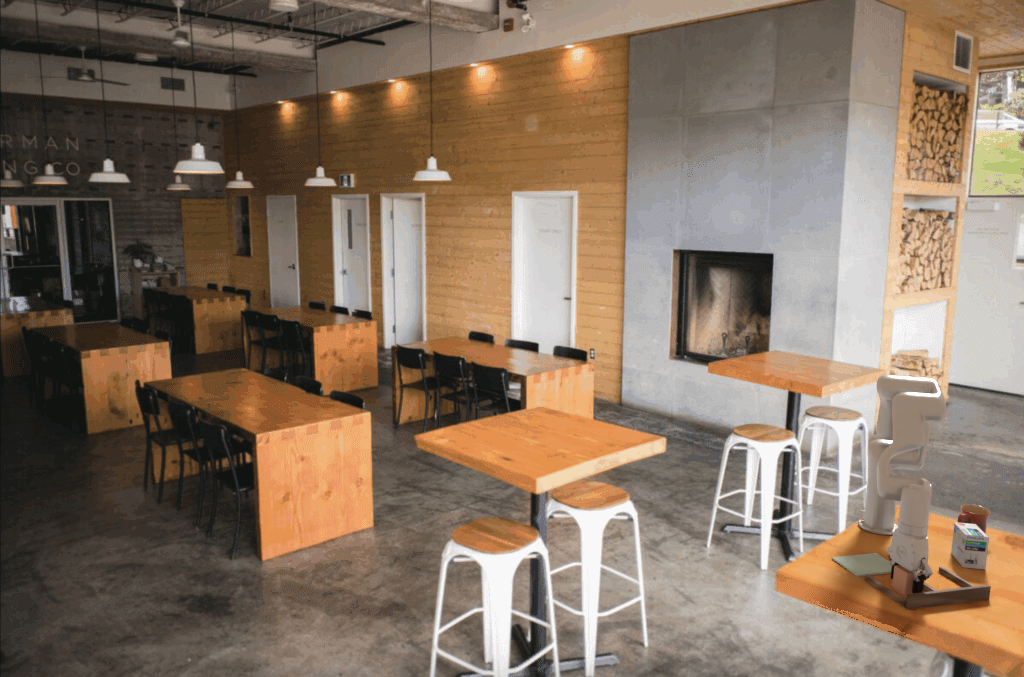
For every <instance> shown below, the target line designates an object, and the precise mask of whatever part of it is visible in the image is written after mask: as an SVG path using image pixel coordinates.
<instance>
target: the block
mask: <svg viewBox="0 0 1024 677" xmlns="http://www.w3.org/2000/svg"><path fill="white" fill-rule="evenodd" d="M918 575H919V576H920V575H921V574H920V571H919V572H918ZM913 580H915V577H914V574H913V572H911V571H909V570H907V569H906V568H904V567H902V566H901V565H896V566H894V574H893V580H892V584H891V589H893V590H894V591H895V592H897V593H899V594H900V595H902V596H903V597H906V596H907V594H913V593H912V586H913Z"/></svg>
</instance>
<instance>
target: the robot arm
mask: <svg viewBox="0 0 1024 677" xmlns="http://www.w3.org/2000/svg"><path fill="white" fill-rule="evenodd" d="M940 386H941V385H940V384H939V382H938V381H937V380H936V379H934V378H931V377H919V376H906V375H892V374H883V375H880V376H879V377H878V378H877V380H876V391H877V394H878V397H879V401H880V402H879V403H880V404H879V408H878V413H877V414H878V415H877V421H876V427H875V428H876V429H875V430H876V434H877V436H878V437H879V438H877V439H873V440H871V441H870V442H869V444H868V445H867V460H868V461H867V464H868V466H867V467H868V468H867V470H868V471H867V484H866V495H865V506H864V507H862V509H859V510H858V513H859V514H860V515H862V516H861V517H862V518H860V519H859V520H858V526H859V527H860V529H862V530H864V531H867V532H870V533H872V534H876V535H877V534H878V535H882V536H891V535H892V537H891V542H890V545H889V546H887V547H886V550H887V553H888V558H889V561H890V564H891V565H892V568H891V573H890V579H891V580H892V581H893V574H894V566H896V565H901V566H902V567H904V568H906V569H907V570H909V571H911V572H913V574H914V577H915V580H913V586H912V593H922V592H924V589H923V587H924V583H925V581H927V580H928V579H930V577H932V575H933V574H934V572H933V570H932V568H931V567H930V565H929V564H928V563H929V539H928V532H929V531H928V527H929V521H930V512H931V504H932V503H931V502H932V495H933V486H932V484H931V482H930V481H929V480H928V479H927V478H924V477H919V476H918V477H917V476H909V475H903V474H902V475H901V474H895V473H894V472H893V469H894V470H897V469H898V470H907V471H908V470H909V471H920V470H921V469H922V468H923V467H924V465H925V462H926V457H927V451H928V447H929V442H930V437H931V436H930V435H931V424H930V422H933V423H940V422H942V421H943V420H944V419H945V418H946V414H947V405H946V400H945V399H946V398H945V396H944V393H943V391H942V388H941V387H940ZM897 502H899V510H898V518H897V524H896V523H895V520H896V513H897V512H896V511H897ZM862 520H864V521H862ZM859 522H860V523H859ZM919 571H920V574H921V575H920V576H919V575H918V572H919Z"/></svg>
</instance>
